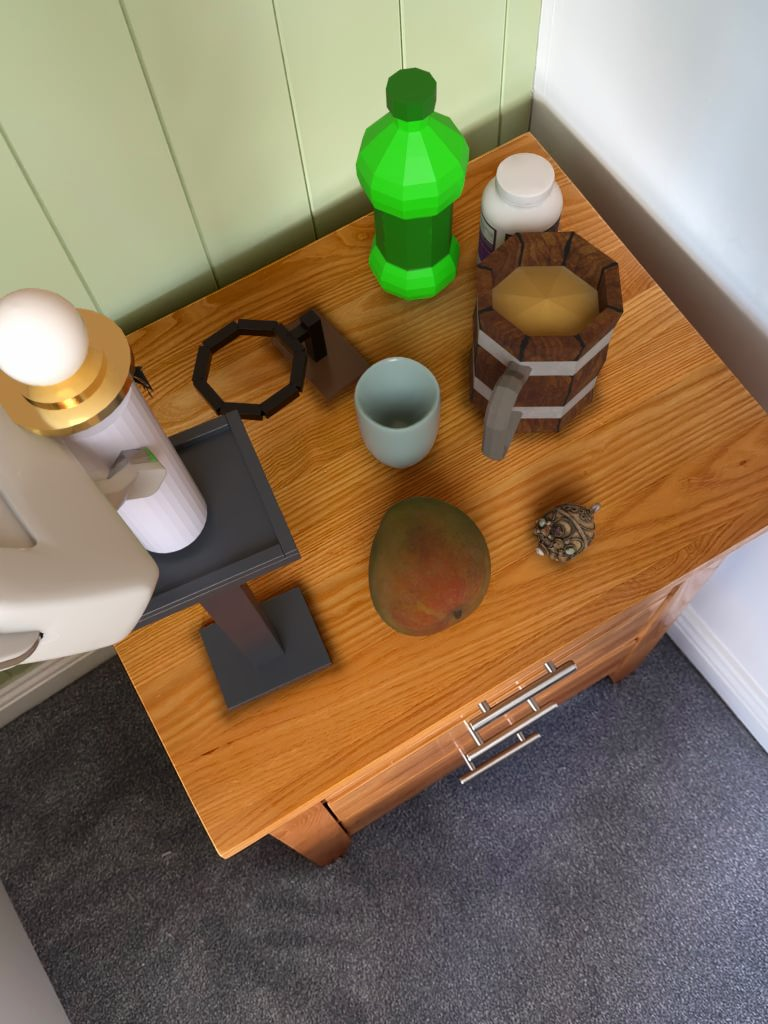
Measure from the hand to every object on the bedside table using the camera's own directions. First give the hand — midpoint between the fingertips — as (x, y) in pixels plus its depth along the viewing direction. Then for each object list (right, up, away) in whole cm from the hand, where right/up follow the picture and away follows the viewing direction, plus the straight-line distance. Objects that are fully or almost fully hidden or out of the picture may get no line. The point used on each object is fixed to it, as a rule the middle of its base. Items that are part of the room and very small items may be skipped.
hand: (119, 428), depth 39 cm
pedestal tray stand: (+1, -17, +38) cm, 41 cm away
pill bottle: (+26, +22, +53) cm, 64 cm away
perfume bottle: (0, -5, +10) cm, 11 cm away
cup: (+14, +3, +46) cm, 48 cm away
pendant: (+30, -7, +41) cm, 51 cm away
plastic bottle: (+16, +22, +54) cm, 60 cm away
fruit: (+16, -10, +40) cm, 44 cm away
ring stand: (+2, +9, +49) cm, 50 cm away
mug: (+26, +7, +47) cm, 54 cm away
